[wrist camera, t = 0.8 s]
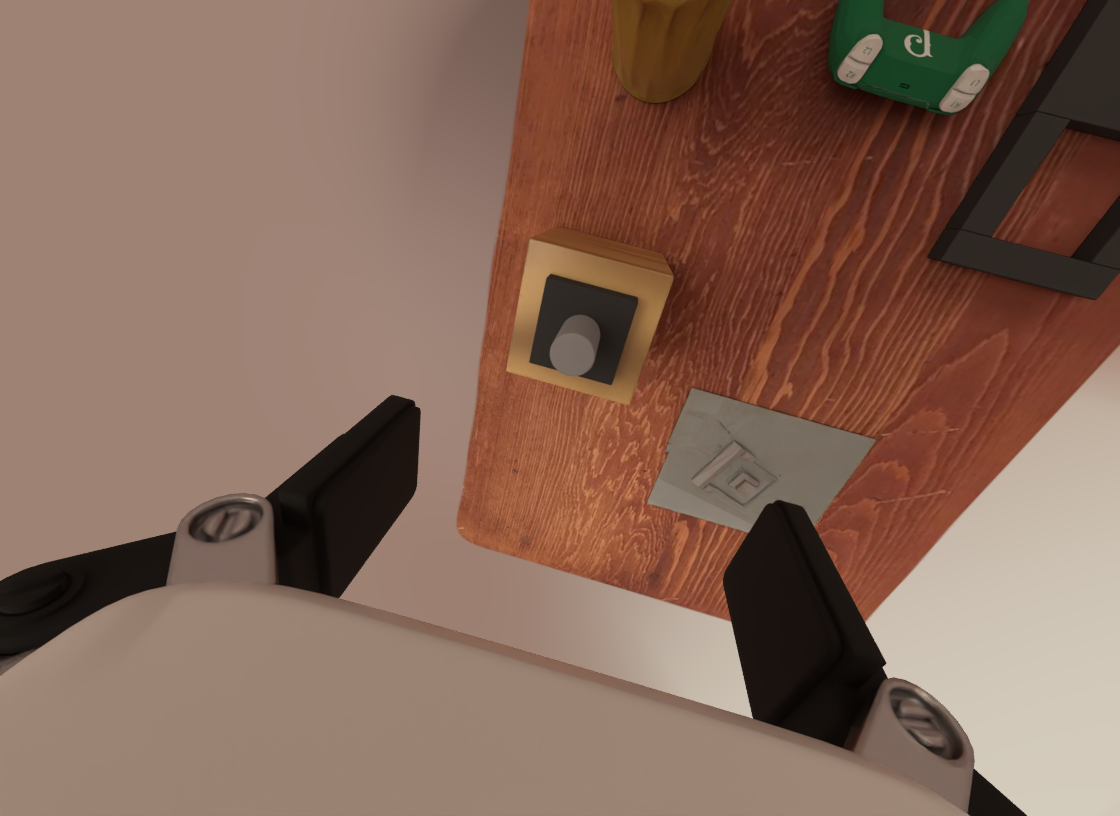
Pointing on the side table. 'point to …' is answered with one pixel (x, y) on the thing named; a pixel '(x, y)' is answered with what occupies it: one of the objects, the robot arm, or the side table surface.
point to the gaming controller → (920, 54)
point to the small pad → (590, 303)
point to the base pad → (1053, 104)
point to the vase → (663, 44)
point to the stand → (601, 268)
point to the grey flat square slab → (751, 462)
